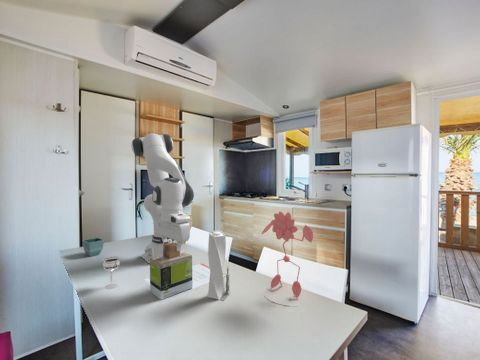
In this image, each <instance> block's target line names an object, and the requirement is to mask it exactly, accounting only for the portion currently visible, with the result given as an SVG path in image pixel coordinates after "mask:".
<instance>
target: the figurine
mask: <svg viewBox="0 0 480 360" xmlns="http://www.w3.org/2000/svg"><path fill="white" fill-rule="evenodd" d="M273 217H274V219H272V220H271V221H270V222H269V223H268V224H267V225H266V226H265V227H264V228H263V230H262V231H261V235H263V234H265V233H266V232H268V231H269V230H270V229H271V228H272V230H271V231H272V233H275V237H276V239H277V240H281V239H283V240H284V242H282V247H283V248H282V249H283V252H284V255H283V258H281V259H278V260H277V263H276V264H277V266H276V267H277V271H279V261H284V262H285V263H289V262H290V263H291V264H292V265H294V266H296V267H298V271H297V277H296V280H295V281H294V282H293V284H292V285H291V291H292V294H293V296H294V297H295V299H298V298H299V296H300V295H301V293H302V285H301V283H300V282H299V281H298V280H299V274H300V270H301V269H300V268H301V267H300V266H299V265H298V264H295V262H292V261H291V259H290V256H289V255H287V252H286V248H285V244H286V243H287V242H289V240H295V241H296V240H297V241H299V242H304V239H305V240H306V241H308V242H309V243H312V242H313V240H314V239H313V238H314V232H313V230H312V228H311V227H310V226H308V225H307V224H305V225H304V226H303V228H302V238H301V239H299V238H297V237H295V235H294V233H296V232H298V230H299V229H298V227H297V226H296V225H295V220H294V218H292V215H291V213H290V212H289V211H288V212H287V213H283V212H282V211H279V212H278V213H274V214H273ZM281 280H282V277H281V274H279V273H277V274H276V275H275V276H274V277H272V279H271V281H270V288H269V289H270V290H271V289H274V288H276V287H277V286H278V285H279V284H280V287H281V286H282V287H283V284H282V281H281ZM263 296H264V298H265V299H267V300H268V301H270V302H271V303H272V304H277V305H280V306H281V305H282V304H280V303H278V302H274V301H272V300H270V299H269V298H267V297H266V296H265V295H263ZM283 306H284V307H289V305H285V304H283Z"/></svg>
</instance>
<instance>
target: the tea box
mask: <svg viewBox="0 0 480 360" xmlns="http://www.w3.org/2000/svg"><path fill="white" fill-rule="evenodd" d="M192 288H193V255H192V254H189V253H187V252H185V251H182V250H180V256H178V257H175V258H171V259H169V258H166V257H164V256H163V255H161V256H157V257H153V258H150V263H149V289H150V290H149V291H150V292H151V293H152V294H153V295H154V296H155V297H156V298H158V299H159V300H161V301H162V300H163V299H167V298H169V297H171V296H174V295H177V294H180V293H182V292H185V291H188V290H190V289H192Z"/></svg>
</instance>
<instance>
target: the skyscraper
mask: <svg viewBox="0 0 480 360" xmlns="http://www.w3.org/2000/svg"><path fill="white" fill-rule="evenodd" d="M208 233H209V234H208V242H207V243H208V249H207V256H208V258H207V259H208V267H209V271H210V272H209V281H208V291H207V292H208V293H207V299H213V300H218V301H220V302H221V301H222V302H224V301H225V300H226V299H227V297H228V296H230V294H231V292H230V288H231V285H230V273H229V272H230V268H229V267H227V268H226V274H225V277H224V270H223V268H224V263H225V261H226V252H227V248H226V247H227V240H226V236H227V235H226V233H224V231H222V230H212V231H210V232H208ZM224 278H226V280H225V279H224Z"/></svg>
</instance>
